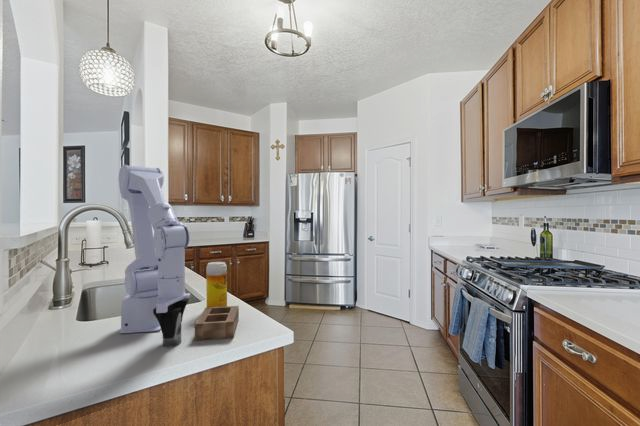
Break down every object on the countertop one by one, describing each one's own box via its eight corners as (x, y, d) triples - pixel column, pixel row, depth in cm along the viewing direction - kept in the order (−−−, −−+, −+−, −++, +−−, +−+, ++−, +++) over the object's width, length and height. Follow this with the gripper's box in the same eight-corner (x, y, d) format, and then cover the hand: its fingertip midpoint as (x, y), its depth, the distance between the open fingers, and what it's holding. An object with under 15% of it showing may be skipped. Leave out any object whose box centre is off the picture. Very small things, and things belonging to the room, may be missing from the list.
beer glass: (223, 313, 93) (223, 264, 93) (203, 313, 93) (203, 264, 93) (229, 307, 99) (229, 261, 99) (211, 307, 99) (210, 261, 99)
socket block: (194, 340, 74) (194, 324, 74) (205, 321, 86) (205, 307, 86) (233, 337, 75) (233, 321, 75) (238, 319, 88) (238, 305, 88)
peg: (160, 347, 70) (159, 317, 70) (165, 340, 74) (165, 311, 74) (178, 346, 71) (178, 316, 71) (183, 339, 75) (183, 310, 75)
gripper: (180, 282, 66) (181, 345, 66) (196, 270, 80) (196, 321, 80) (145, 284, 65) (145, 348, 65) (167, 271, 79) (168, 323, 79)
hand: (172, 333), depth 72 cm, fingers closed on peg, 4 cm apart
